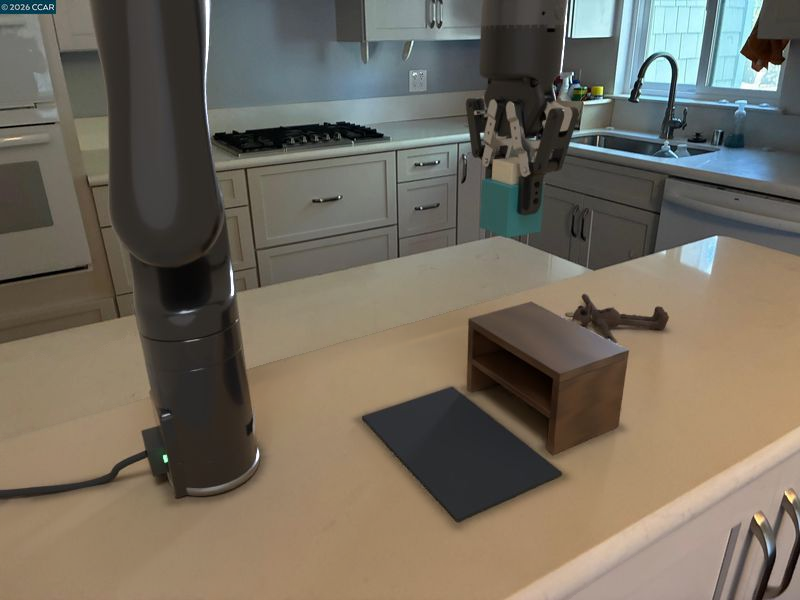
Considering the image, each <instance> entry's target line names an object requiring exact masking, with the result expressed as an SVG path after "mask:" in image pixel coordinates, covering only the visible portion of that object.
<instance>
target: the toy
mask: <svg viewBox="0 0 800 600" xmlns="http://www.w3.org/2000/svg"><path fill="white" fill-rule="evenodd" d="M531 161H532V162H534V161H535V160H532V159H531ZM519 176H522V175H521V172H520V165H519V157H518V156H513V157H509V158H503V159H494V160H493V166H492V178H489V179H485V178H482V179H481V187H480V207H479V209H480V210H479V228H480V229H483V230H484V231H488V232H490V233H492V234H494V235H498V236H500V237H502V238H506V239H509V238H514V237H515V238H516V237H519V236H525V235H529V234H530V235H531V234H537V233H540V232H541V231H542V220H543V210H544V197H545V187H546V182H545V181H543V187H542V198H541V206H540V208H539V210H538V212H537V213H535V214H530V215H521V214H518V212H517V202H518V183H519Z"/></svg>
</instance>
